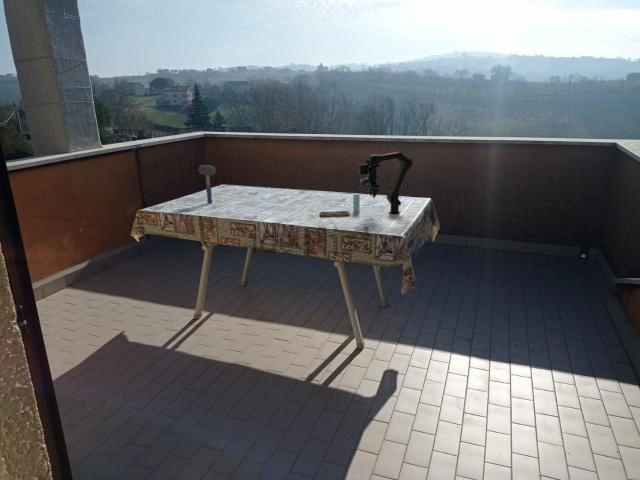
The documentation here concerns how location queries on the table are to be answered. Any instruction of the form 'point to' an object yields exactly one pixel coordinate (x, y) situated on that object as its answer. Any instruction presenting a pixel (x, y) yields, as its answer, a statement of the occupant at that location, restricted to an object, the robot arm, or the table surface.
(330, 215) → the walnut rack
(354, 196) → the teal board
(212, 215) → the table surface
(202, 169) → the rubber mallet
